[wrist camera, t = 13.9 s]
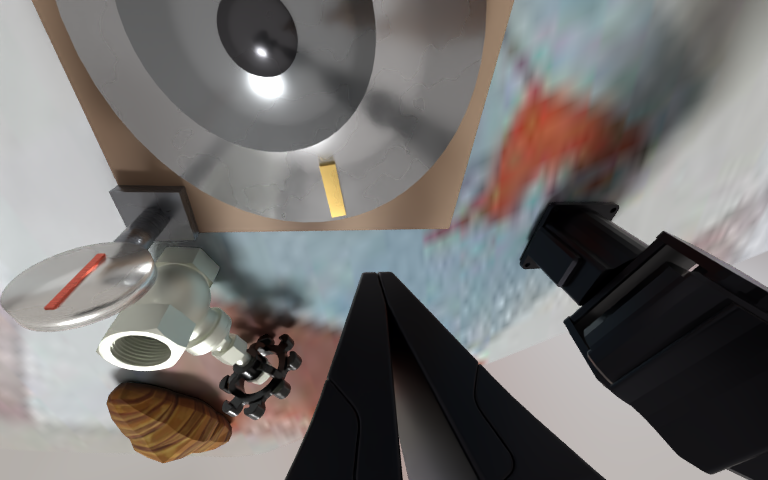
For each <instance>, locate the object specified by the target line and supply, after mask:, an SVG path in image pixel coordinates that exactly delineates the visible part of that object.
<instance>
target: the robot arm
mask: <svg viewBox="0 0 768 480" xmlns="http://www.w3.org/2000/svg"><path fill="white" fill-rule="evenodd" d="M618 210H619V205H617V204H615V203H608V202H554V203H552V204H550V205H549V206H548V207H547V209H546V211H545V213H544V215H543V217H542V219H541V221H540V223H539V225H538V227H537V229H536V231H535V233H534V235H533V237H532V239H531V241H530V243H529V245H528V247H527V249H526V251H525V253H524V255H523V257H522V259H521V261H520V266H521V267H522V268H523V269H537V268H541V269H542V270H543V271H544V272H545V274H546V275H547V276H548V277H549V278H550V279H551V280H552V281H553V282H554V283H555V284H556V285H557V286H558V287H561V288H562V289H563V290H564V291H565V292H566V293H567V294H568V295H569V296H570V297H571V298H572V299H573V300H574V301H575V302H576V303H577V304H578V305H579V306H582V307H580V308H579V309H578V310H577V311H576V312H575V313H574V314H573V315H572V316H568V317H567V318H566V319H565V320H564V321H563V322H564V324H565V325H566V327H567V329H568V330H569V333H570V335H571V336H572V338H573V340H574V341H575V343H576V345H577V346H578V348H579V350H580V352H581V353H582V355H583V357H584V358H585V360H586V362H587V363H588V365H589V367H590V368H591V370H592V372H593V373H594V375H595V377H596V378H597V379H598V381H600V382H601V383H602V384H603V385H604V386H605V387H606V388H608V389H609V390H610V391H611V392H612V393H613V394H615V395H616V396H617V397H619V398H620V399H621V400H623V401H624V402H626V403H627V404H629V405H631V406H632V407H633V408H634V409H635V410H636V411H637V412H639V413H640V414H641V415H642V416H643V417H644V418H645V419H646V420H647V421H648V422H649V424H650V425H651V426H652V427H653V428H654V429H655V430H656V431H657V432H658V433H659V434H660V436H661V437H662V438H663V439H664V440H665V441H666V442H667V444H668V445H669V446H670V447H671V448H672V449H673V450H674V451H675V452H676V454H678V455H679V456H680V457H681V458H683V459H684V460H686V461H688V462H689V463H691V464H693V465H694V466H696V467H697V468H699V469H700V470H702V471H704V472H706V473H708V474H715V473H717V472H720V471H722V470H725V469H727V470H729V471H731V472H733V473H735V474H738V475H740V476H742V477H744V478H746V479H748V480H768V287H766V286H764V285H763V284H761V283H759V282H758V281H756V280H754V279H753V278H751V277H750V276H748V275H746V274H745V273H743V272H741V271H740V270H738V269H736V268H734V267H733V266H731V265H729V264H727V263H726V262H724V261H722V260H720V259H718V258H716V257H715V256H713V255H711V254H709V253H707V252H706V251H704V250H702V249H700V248H698V247H696V246H694V245H692V244H690V243H688V242H686V241H684V240H682V239H680V238H678V237H676V236H673V235H671V234H669V233H667V232H665V231H662V232H661V233H660V234H659V235H658V236H657V237H656V238H657V239H656V240H655V241H654V242H653V243H652V244H651V245H647V244H646V243H644V242H642V241H641V240H639V239H638V238H636V237H635V236H633V235H631V234H630V233H628V232H627V231H625V230H624V229H622V228H621V227H619V226H617V225H616V224H614V223H613V222H611V220H612V219H613V217H614V216H615V214H616V213H617V211H618ZM696 263H697V264H698V265H699V266H698V267H697V268H695V269H694V270H693V271H691V272H690V271H688V270H689V269H690V268H691V267H693V266H694V265H695V264H696ZM399 439H400V443H401V448H402V452H403V457H404V461H405V465H406V470H407V474H408V478H409V480H606V479H604V478H603V477H602V476H601V475H600V474H599V473H598V472H596V471H595V470H594V469H593V468H592V467H591V466H590V465H588V464H587V463H586V462H585V461H584V460H583V459H582V458H580V457H579V456H578V455H577V454H576V453H575V452H574V451H573V450H571V449H570V448H569V447H568V446H567V445H566V444H565V443H564V442H562V441H561V440H560V439H559V438H558V437H557V436H556V435H555V434H553V433H552V432H551V431H550V430H549V429H548V428H547V427H545V426H544V425H543V424H542V423H541V422H540V421H539V420H537V419H536V418H535V417H534V416H533V415H532V414H531V413H530V412H529V411H528V410H526V408H524V407H523V406H522V405H521V404H520V403H519V402H518V401H517V400H516V399H515V398H513V397H512V396H511V395H510V394H509V393H508V392H507V391H506V390H505V389H504V388H503V387H502V386H501V385H500V384H499V383H498V382H497V381H496V380H495V379H494V378H493V377H492V376H491V375H490V374H489V373H488V371H487V370H486V369H485V368H484V367H483V366H482V365H481V364H479V365H478V361H477V360H476V359H475V358H474V357H473V356H472V355H471V354H470V353H469V352H468V351H467V350H466V349H465V348H464V347H463V346H462V345H461V343H460V342H459V341H458V340H457V339H456V338H455V337H454V336H453V335H452V334H451V333H450V332H449V331H448V330H447V329H446V328H445V327H444V326H443V325H442V324H441V323H440V322H439V321H438V320H437V318H436V317H435V316H434V315H433V314H432V313H431V312H430V311H429V310H428V309H427V308H426V307H425V306H424V305H423V304H422V303H421V302H420V301H419V300H418V299H417V298H416V297H415V296H414V295H413V294H412V292H411V291H410V290H409V289H408V288H407V287H406V286H405V285H404V284H403V283H402V282H401V281H400V280H399V279H398V278H397V277H396V276H395V275H394V274H393V273H392V272H379V273H375V272H366V273H362V275H361V278H360V281H359V284H358V287H357V290H356V293H355V296H354V299H353V302H352V305H351V308H350V310H349V313H348V316H347V319H346V322H345V325H344V328H343V331H342V334H341V337H340V340H339V343H338V346H337V349H336V352H335V355H334V358H333V361H332V364H331V367H330V370H329V373H328V376H327V380H326V381H325V384H324V387H323V390H322V393H321V396H320V399H319V401H318V404H317V407H316V409H315V412H314V415H313V417H312V420H311V423H310V425H309V427H308V430H307V432H306V434H305V437H304V439H303V442H302V443H301V446H300V448H299V450H298V453H297V455H296V457H295V459H294V461H293V463H292V466H291V468H290V470H289V472H288V474H287V476H286V478H285V480H403V478H402V466H401V455H400V445H399Z"/></svg>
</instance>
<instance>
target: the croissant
mask: <svg viewBox="0 0 768 480" xmlns="http://www.w3.org/2000/svg"><path fill="white" fill-rule="evenodd" d="M107 406H108V409H109V412H110V415H111V418H112V420H113V421H114V423H115V424H116V425H117V426H118V428H119V429H120V430H121V432H122V433H123V434H124V435H125V436H126V437H128V438H129V439H130V441H131V443H132V445H133V448H134V450H135V451H137V452H139V453H141V454H142V455H144V456H146V457H148V458H150V459H153V460H156V461H159V462H161V463H166V462H169V461H173V460H177V459H181V458H183V457H185V456H187V455H189V454H191V453H201V452H205V451H209V450H213V449H216V448H217V447H219V446H221V445H223V444H225V443H226V442H228V441H229V439H230V437H231V434H232V427H231V425H230V424H229V422H228V420H227V419H226V418H225V417H224V416H223V415H222V414H221V413H219V412H216V411H215V410H214V409H213V408H212V407H211V406H209V405H208V404H206V403H205V402H204V401H202V400H199V399H196V398H193V397H190V396H187V395H182V394H178V393H176V392H173V391H171V390H169V389H165V388H161V387H156V386H152V385H148V384H140V383H130V382H127V383H121V384H120V385H119V386H117V387H116V388H115V389H114V390H113V391H112V392H111V394H110V395H109V397H108V400H107Z"/></svg>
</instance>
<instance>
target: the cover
mask: <svg viewBox="0 0 768 480" xmlns="http://www.w3.org/2000/svg"><path fill="white" fill-rule="evenodd" d="M115 2H116V6H117V10H118V13H119V16H120V19H121V21H122V24H123V27H124V30H125V32H126V34H127V36H128V38H129V41H130V43H131V45H132V47H133V49H134V51H135V53H136V54H137V56H138V58H139V59H140V61H141V63H142V64H143V66H144V68H145V69H146V71H147V72H148V74H149V75H150V76H151V78H152V79H153V80H154V82H155V83H156V84H157V86H158V87H159V88H160V89H161V90H162V91H163V93H164V94H165V95H166V96H167V97H168V98H169V99H170V101H171V102H173V103H174V104H175V105H176V106H177V107H178V108H179V109H180V110H181V111H182V112H183V113H184V114H186V115H187V116H188V117H189V118H191V119H192V120H193V121H195V122H196V123H197V124H198V125H200V126H202V127H203V128H205V129H206V130H208V131H209V132H211V133H213V134H215V135H217V136H218V137H220V138H222V139H224V140H226V141H229V142H232V143H234V144H237V145H239V146H242V147H246V148H250V149H254V150H260V151H267V152H287V151H296V150H300V149H304V148H308V147H310V146H313V145H315V144H318V143H320V142H322V141H323V140H325V139H327V138H329V137H330V136H332V135H333V134H334V133H335V132H337V131H338V130H339V129H340V128H341V127H342V126H343V125H344V124H345V123H346V122H347V121H348V120H349V119H350V118H351V116H352V115H353V114H354V112H355V111H356V109H357V108H358V106H359V104H360V103H361V101H362V99H363V97H364V94H365V92H366V90H367V87H368V85H369V81H370V78H371V74H372V71H373V65H374V59H375V49H376V24H375V14H374V7H373V1H372V0H115Z"/></svg>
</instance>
